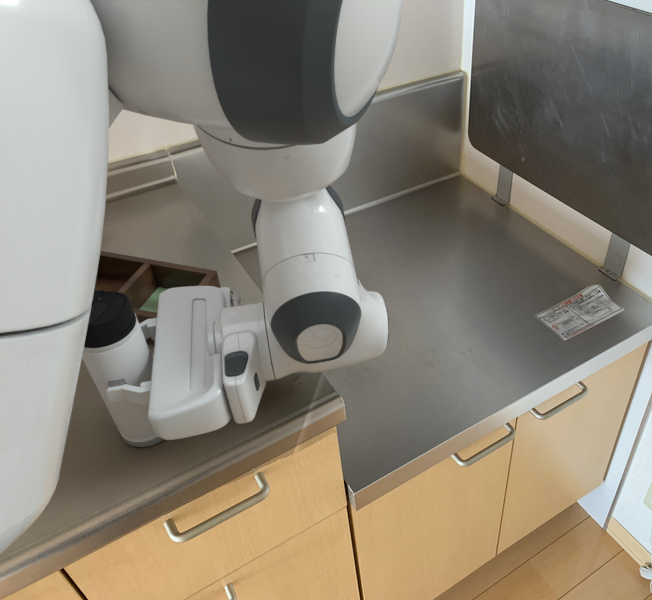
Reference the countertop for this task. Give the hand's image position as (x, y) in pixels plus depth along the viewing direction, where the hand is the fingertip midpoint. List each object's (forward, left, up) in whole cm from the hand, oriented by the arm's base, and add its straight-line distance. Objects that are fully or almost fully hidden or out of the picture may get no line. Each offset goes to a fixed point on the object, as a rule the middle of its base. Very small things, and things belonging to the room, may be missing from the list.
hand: (112, 366), depth 66 cm
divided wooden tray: (+18, +12, -11) cm, 24 cm away
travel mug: (0, -1, -11) cm, 11 cm away
